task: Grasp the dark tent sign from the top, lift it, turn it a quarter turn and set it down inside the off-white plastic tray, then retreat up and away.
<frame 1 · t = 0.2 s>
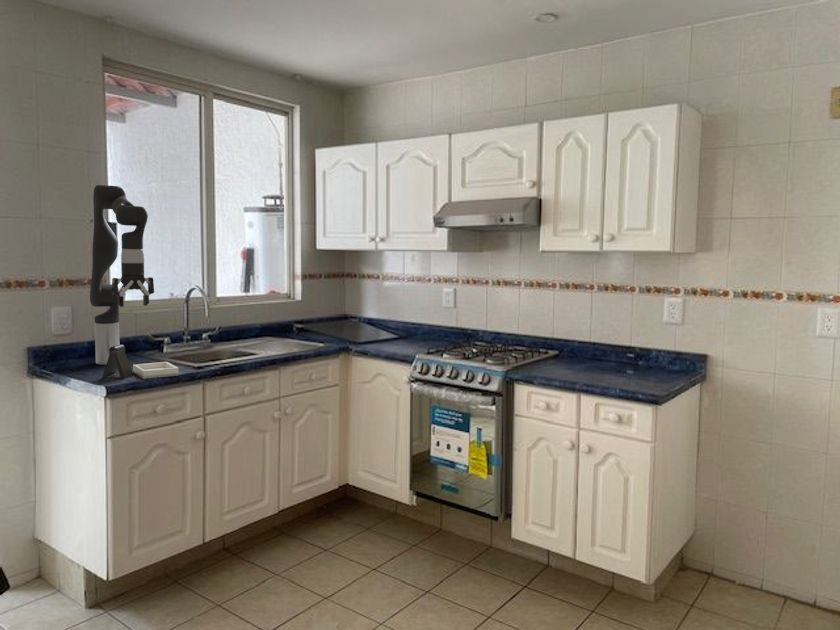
hand: (133, 306, 233), 28 cm above the countertop, tool pointing down, fingers open, 8 cm apart
tray: (155, 373, 251), on the countertop
dark tent sign: (117, 377, 244), on the countertop
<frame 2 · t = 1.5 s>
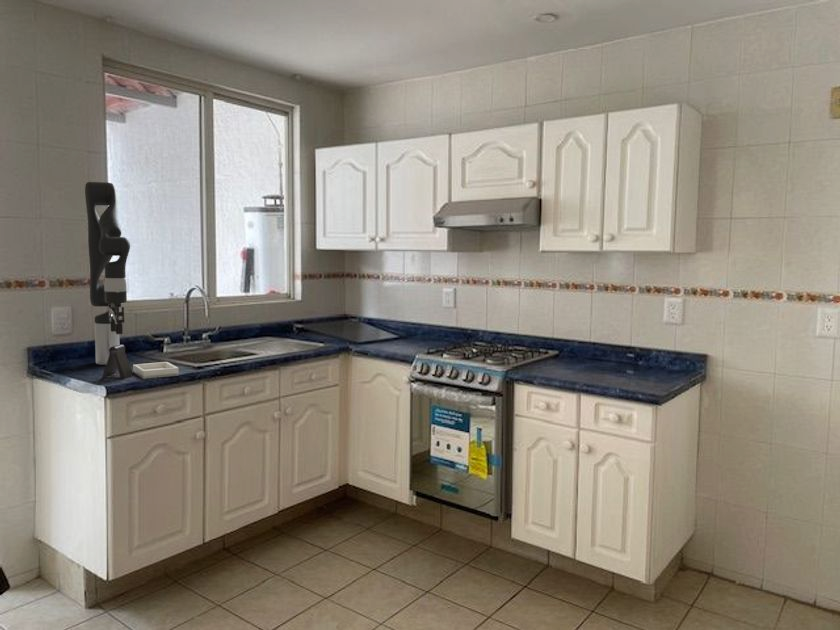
hand: (116, 332, 242), 17 cm above the countertop, tool pointing down, fingers open, 8 cm apart
nothing on the countertop moved.
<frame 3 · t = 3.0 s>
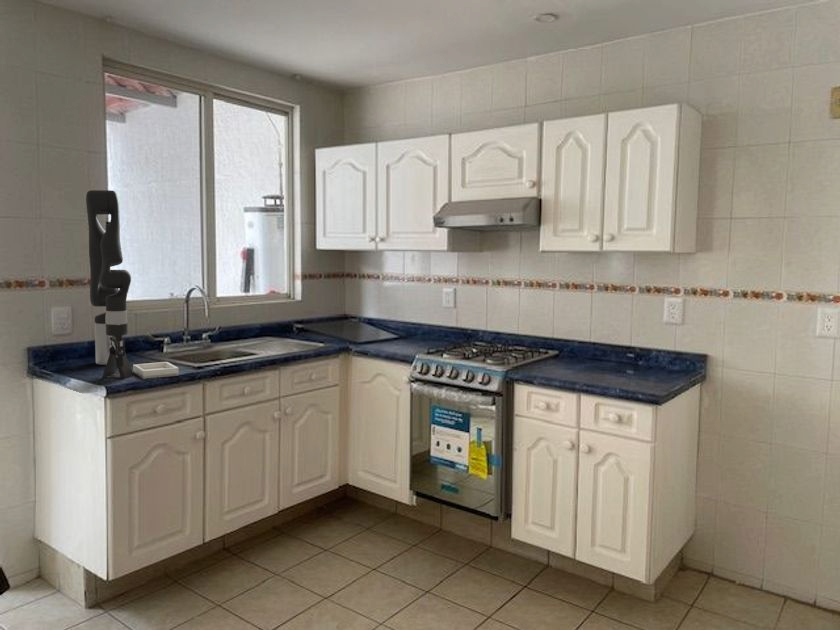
hand: (117, 365, 244), 4 cm above the countertop, tool pointing down, fingers closed on dark tent sign, 6 cm apart
dark tent sign: (117, 377, 244), on the countertop, touching gripper
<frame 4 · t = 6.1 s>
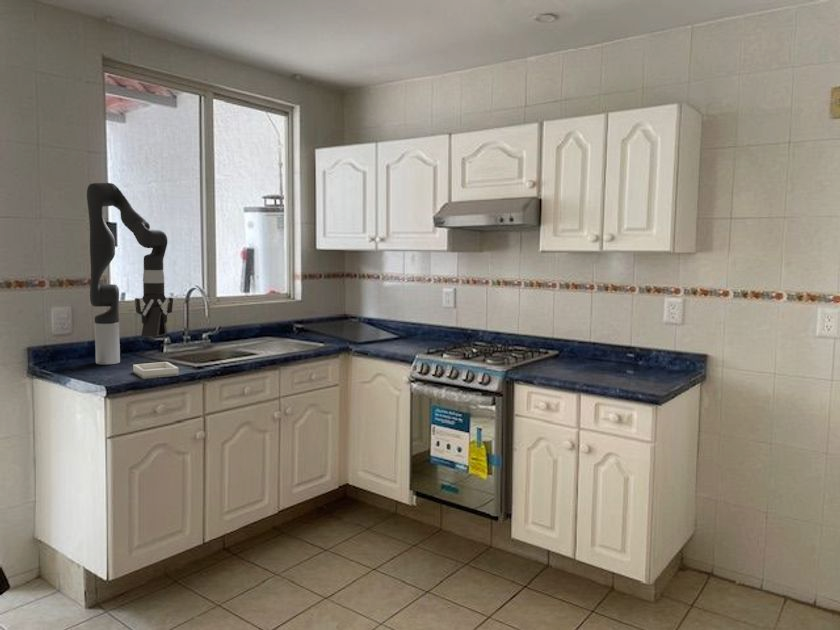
hand: (154, 324, 249), 20 cm above the countertop, tool pointing down, fingers closed on dark tent sign, 6 cm apart
dark tent sign: (154, 335, 250), point 15 cm above the countertop, touching gripper
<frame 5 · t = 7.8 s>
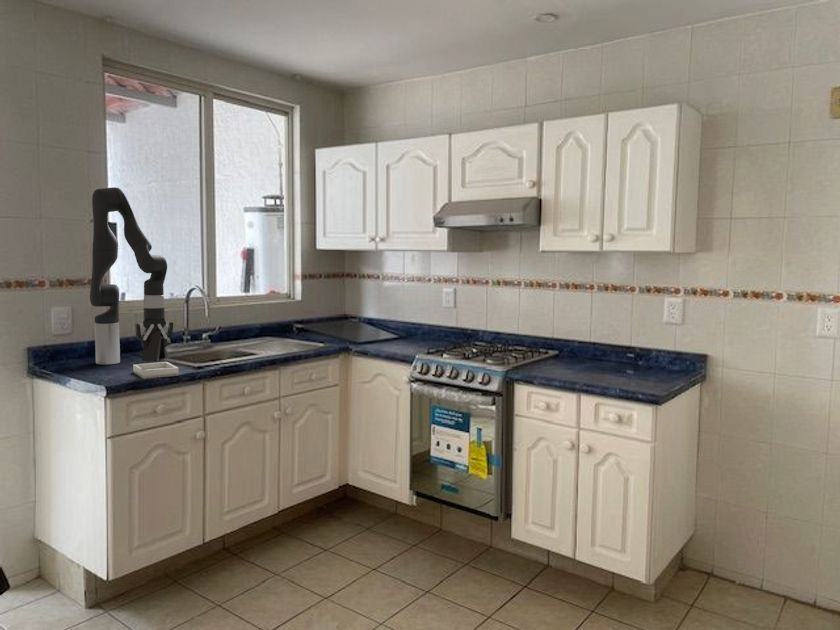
hand: (154, 348, 250), 10 cm above the countertop, tool pointing down, fingers closed on dark tent sign, 6 cm apart
dark tent sign: (154, 360, 251), point 6 cm above the countertop, touching gripper
when the fingers open (7 cm above the countertop, at t = 9.1 s): dark tent sign drops 1 cm, resting on tray.
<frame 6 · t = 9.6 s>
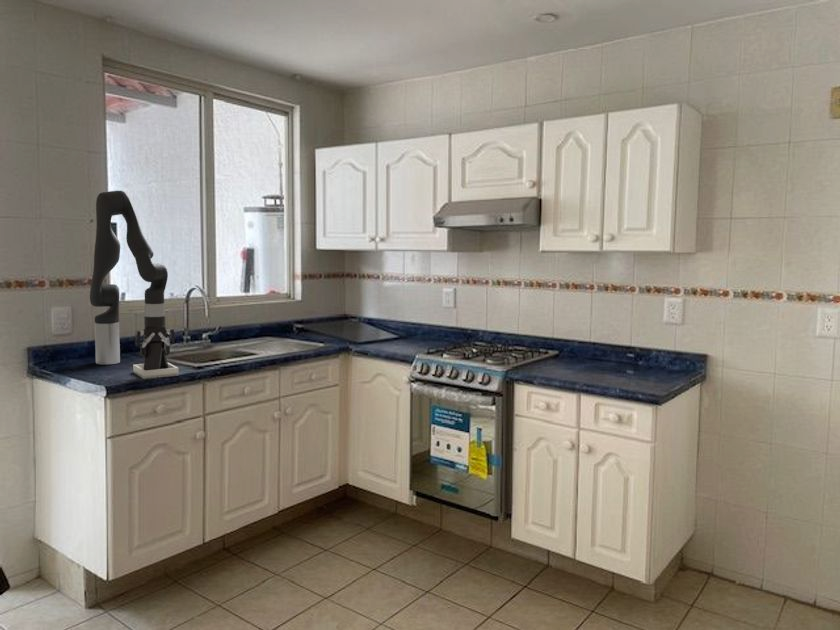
hand: (155, 356, 251), 7 cm above the countertop, tool pointing down, fingers open, 8 cm apart
dark tent sign: (156, 371, 251), point 1 cm above the countertop, touching tray
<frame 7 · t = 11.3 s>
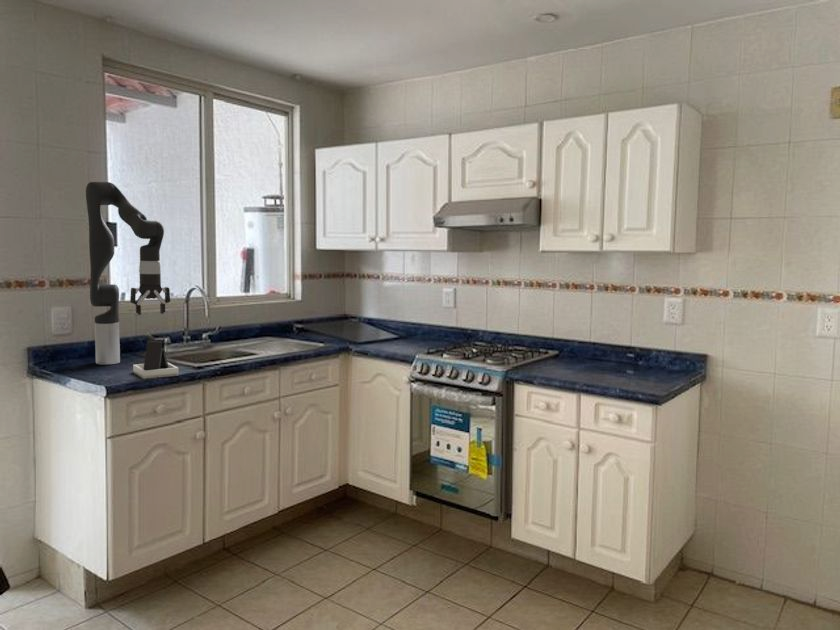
hand: (150, 314, 249), 24 cm above the countertop, tool pointing down, fingers open, 8 cm apart
nothing on the countertop moved.
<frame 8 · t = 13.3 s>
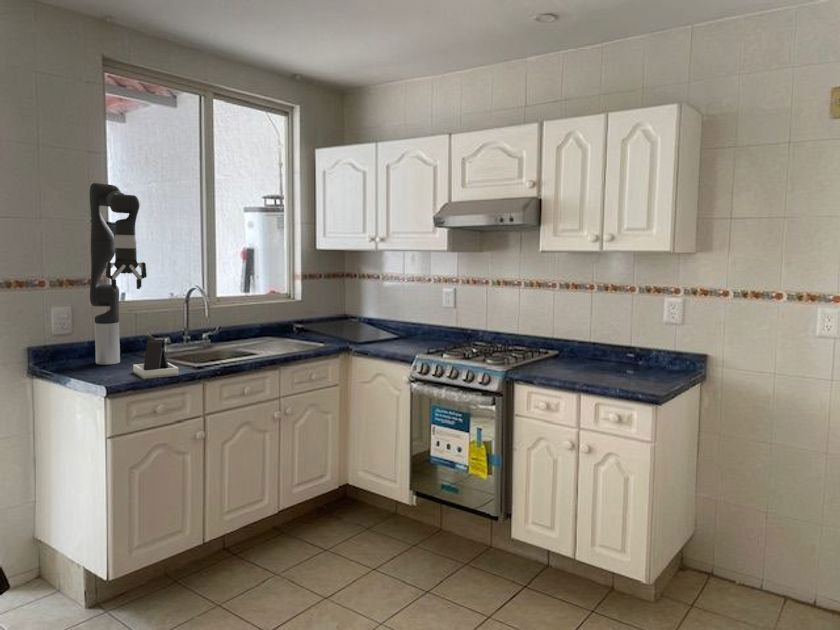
hand: (126, 289, 248), 33 cm above the countertop, tool pointing down, fingers open, 8 cm apart
nothing on the countertop moved.
at the end: dark tent sign inside the target area on the tray (0.1 cm from its centre), point 0.8 cm above the tray's base; dark tent sign tilted 0°; the gripper is holding nothing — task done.
